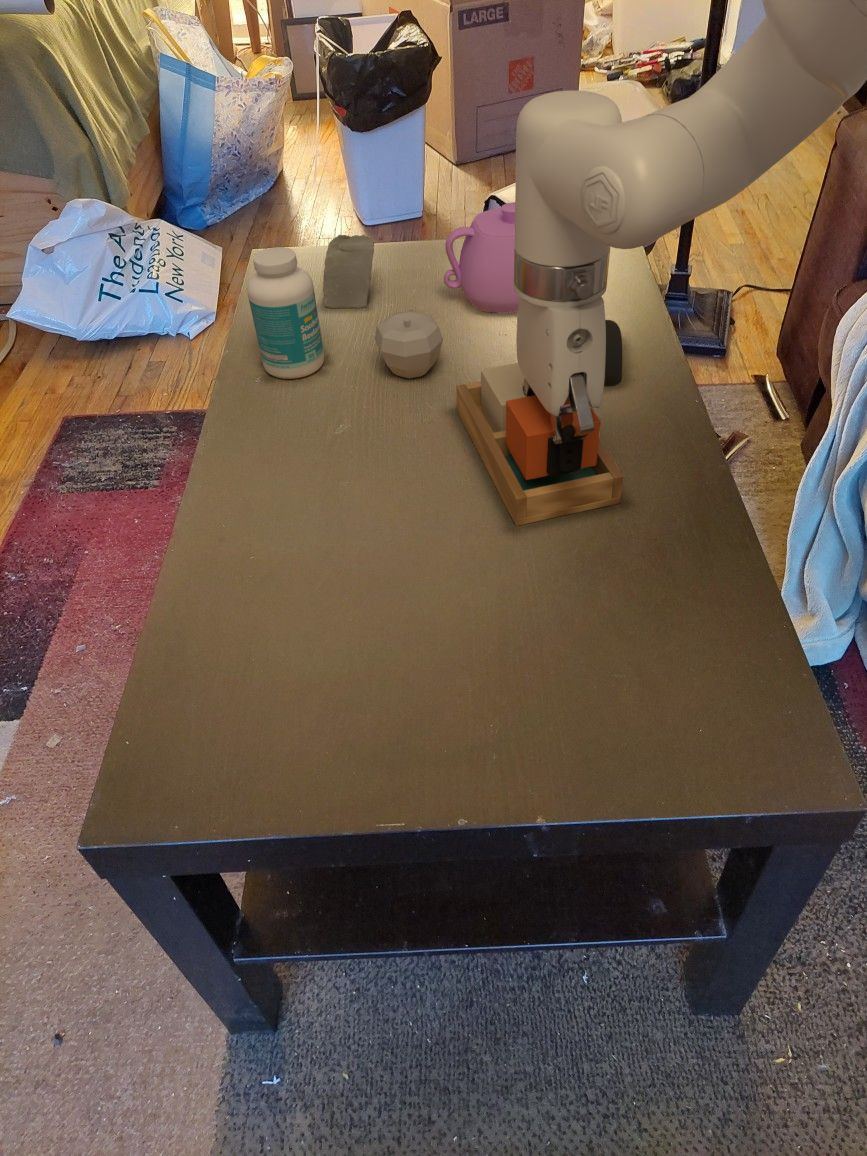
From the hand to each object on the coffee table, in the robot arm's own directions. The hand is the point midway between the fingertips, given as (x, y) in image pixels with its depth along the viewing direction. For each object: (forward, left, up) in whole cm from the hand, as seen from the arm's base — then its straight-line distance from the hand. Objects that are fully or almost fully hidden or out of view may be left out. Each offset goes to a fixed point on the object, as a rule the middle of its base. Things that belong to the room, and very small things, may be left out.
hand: (550, 449), depth 80 cm
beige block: (0, -9, -3) cm, 10 cm away
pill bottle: (+21, -31, -4) cm, 37 cm away
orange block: (0, 0, -1) cm, 1 cm away
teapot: (-10, -38, -4) cm, 39 cm away
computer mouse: (-13, -20, -4) cm, 24 cm away
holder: (0, -5, -4) cm, 6 cm away
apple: (+8, -25, -4) cm, 26 cm away
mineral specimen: (+11, -46, -4) cm, 47 cm away
